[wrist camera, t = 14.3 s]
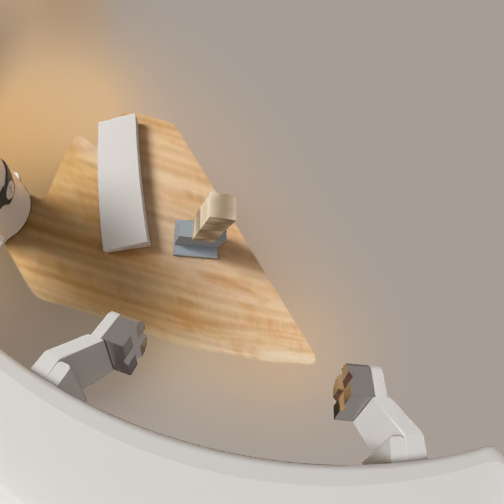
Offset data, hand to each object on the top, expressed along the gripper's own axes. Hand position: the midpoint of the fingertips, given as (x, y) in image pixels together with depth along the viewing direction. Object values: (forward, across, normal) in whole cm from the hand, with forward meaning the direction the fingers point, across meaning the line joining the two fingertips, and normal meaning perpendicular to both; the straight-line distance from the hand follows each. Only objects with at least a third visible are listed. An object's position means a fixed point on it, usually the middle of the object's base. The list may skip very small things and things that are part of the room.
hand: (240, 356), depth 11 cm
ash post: (+44, -15, -16) cm, 49 cm away
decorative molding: (+49, -38, -10) cm, 63 cm away
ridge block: (+48, -18, -21) cm, 56 cm away
